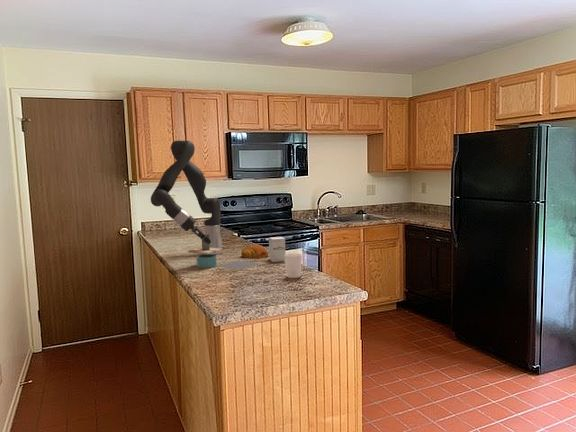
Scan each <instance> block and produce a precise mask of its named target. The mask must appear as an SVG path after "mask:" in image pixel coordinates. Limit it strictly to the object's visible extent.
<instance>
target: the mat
mask: <svg viewBox="0 0 576 432" xmlns="http://www.w3.org/2000/svg"><path fill="white" fill-rule="evenodd" d="M260 264H261V262H252V261H244V260H235V261H231V262H228V263H224V264H221V265H218V266H217V267H219V268H227V269H236V270H237V269H238V270H245V269H248V268H251V267H254V266H256V265H260Z"/></svg>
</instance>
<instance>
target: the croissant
mask: <svg viewBox="0 0 576 432" xmlns="http://www.w3.org/2000/svg"><path fill="white" fill-rule="evenodd" d="M240 253H241V258H243V259H261V258H263V259H264V258H267V257H269V250H267V248H266V247H265V246H263V245H262V244H250V245H247V246H245V247H244V248H242V250H241V252H240Z"/></svg>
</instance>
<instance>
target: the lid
mask: <svg viewBox="0 0 576 432" xmlns="http://www.w3.org/2000/svg"><path fill="white" fill-rule="evenodd" d="M204 235H206V237H207V238H208V239H209V234H205V233H204ZM201 236H203V235H201ZM224 250H225V248H223V247H222V248H212V247H210V244H207V243H206V242H205V241H204V240H202V239H201V247H199V248H198V247H197V248H194V249H190V250H187V253H191V254H200V255H204V254H210V253H214V252H218V251H222V252H223V251H224Z"/></svg>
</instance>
